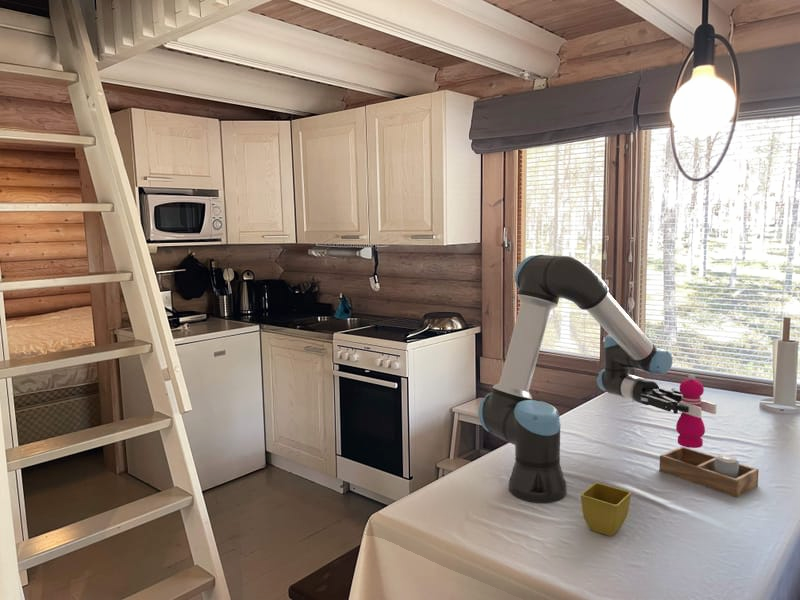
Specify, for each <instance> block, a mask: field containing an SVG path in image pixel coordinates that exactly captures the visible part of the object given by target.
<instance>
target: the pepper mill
mask: <svg viewBox="0 0 800 600" xmlns="http://www.w3.org/2000/svg"><path fill="white" fill-rule="evenodd" d="M687 378H688V379H684V380H683V381H682V382H680V385H679V391H680V392H681V393H682V396H681V398H682V399H681V401H682V402H685V403H688V404H692V405H695V406H698V407H699V405H700V403H701V400H702V397H701V396H702V395H703V394H704V391H705V389H704V385H703V383H702V382H701V381H700V380H697V379H696V375H695V374H694V373H689V374H688V377H687ZM675 425H676V426H675V431H676V432H677V433H678V436H677V444H678V445H680V447H681V446H683V447H686V448H689V449H697V448H698V449H699V448H701V447H703V443H704V439H703V438H702V436H704V435H705V433H706V428H705V427H706V426H705V424H704V421H703V419H702V417H701V418H698V417H695V416H692V415H689V414H686V413H683V412H681V414H680V416H679V418H678V420H677V422H676V424H675Z"/></svg>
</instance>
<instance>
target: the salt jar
mask: <svg viewBox="0 0 800 600" xmlns="http://www.w3.org/2000/svg"><path fill="white" fill-rule="evenodd" d="M739 464H740V462H739V460H737V458H736V457H735V456H732V455H728V454H719V455H717V456H716V458H715V467H714V472H717V473H720V474H723V475H726V476H729V477H732V478H735V479H736V478H738V471H739Z"/></svg>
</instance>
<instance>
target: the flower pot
mask: <svg viewBox="0 0 800 600" xmlns="http://www.w3.org/2000/svg"><path fill="white" fill-rule="evenodd" d="M631 496H632V492H631V491H628V490H625V489H622V488H620V487H619V488H618V487H616V486H615V487H614V486H611V485H608V484H604V483H600V482H594V483H593V484H591V485H590V486H589V487H588V488H586V490H584V491H583V492H582V493H581V494H580V498H581V499H580V500H581V501H580V502H581V509H582V515H583V519H584V521H585V523H586V524H587V527H589V529H590V530H591V531H593V532H597V533H600V534H602V535H606V536H608V537H612V536H614V535H615V534H616V533H617V532H618V531H619V530H620V529H621V528H622V526H623V525H624V523H625V521H626V519H627V517H628V513H629V509H630V504H631Z"/></svg>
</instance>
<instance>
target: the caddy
mask: <svg viewBox="0 0 800 600" xmlns="http://www.w3.org/2000/svg"><path fill="white" fill-rule="evenodd" d="M716 457H717V456H716V455H713V454H709V453H706V452H703V451H699V450H695V449H694V448H688V447H684V446H681V445H680V447H676V448H674V449H672V450H670V451H667V452H664V453H662V454H659V469H658V470H659V471H660V472H661V473H665V474H667V475H670V476H673V477H676V478H679V479H682V480H684V481H688V482H691V483H693V484H696V485H699V486H702V487H705V488H708V489H711V490H714V491H716V492H719V493H722V494H725V495H727V496H730V497H733V498H739V497H740V496H742V495H744V494H746V493H748V492H749V491H751V490H753V489H755V488H757V487H758V485H759V469H758V468H755V467H752V466H749V465H745V464H742V463H739V471H738V478H736V479H735V478H732V477H729V476H726V475H723V474H720V473H717V472H714V467H715V458H716Z"/></svg>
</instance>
